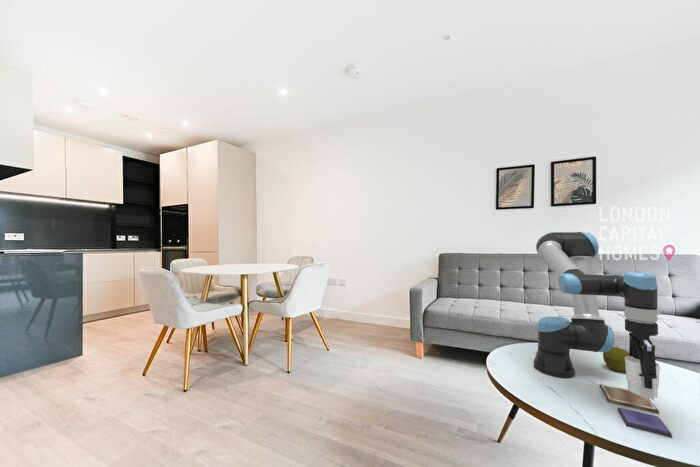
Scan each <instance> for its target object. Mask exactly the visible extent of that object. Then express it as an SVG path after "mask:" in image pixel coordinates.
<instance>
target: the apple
mask: <svg viewBox="0 0 700 467" xmlns="http://www.w3.org/2000/svg"><path fill="white" fill-rule="evenodd" d="M628 356H629V352H628V351H627V350H626V349H623V348H620V347H617V346H616V347H615V346H613V347H612V349H611V350H610V351H608V352H602V357H603V358H602V359H603V361H604V363H605V365H606V367H608V368H609V369H610V370H612V369H613V370H612V371H616V372H620V373H621V372H622V373H623V372H624V373H625V372H626V368H625V357H628Z"/></svg>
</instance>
